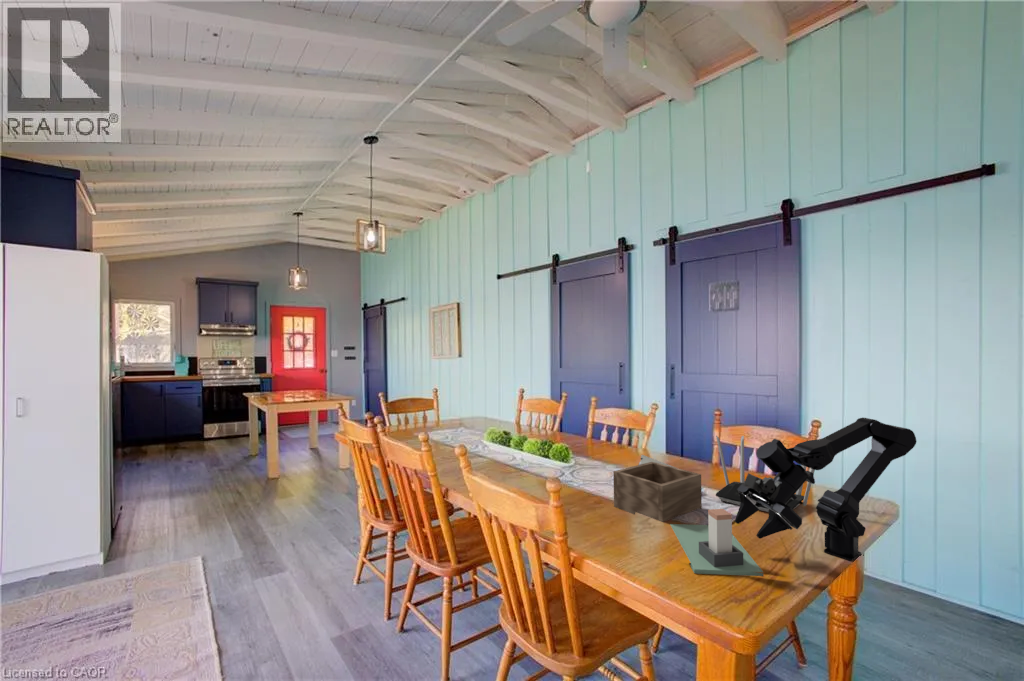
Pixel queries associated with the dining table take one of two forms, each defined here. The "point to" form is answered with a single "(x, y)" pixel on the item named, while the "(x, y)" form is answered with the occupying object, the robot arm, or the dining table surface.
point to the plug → (720, 530)
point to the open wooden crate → (657, 491)
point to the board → (690, 543)
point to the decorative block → (650, 460)
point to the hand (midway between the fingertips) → (746, 529)
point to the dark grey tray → (721, 556)
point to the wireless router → (730, 490)
